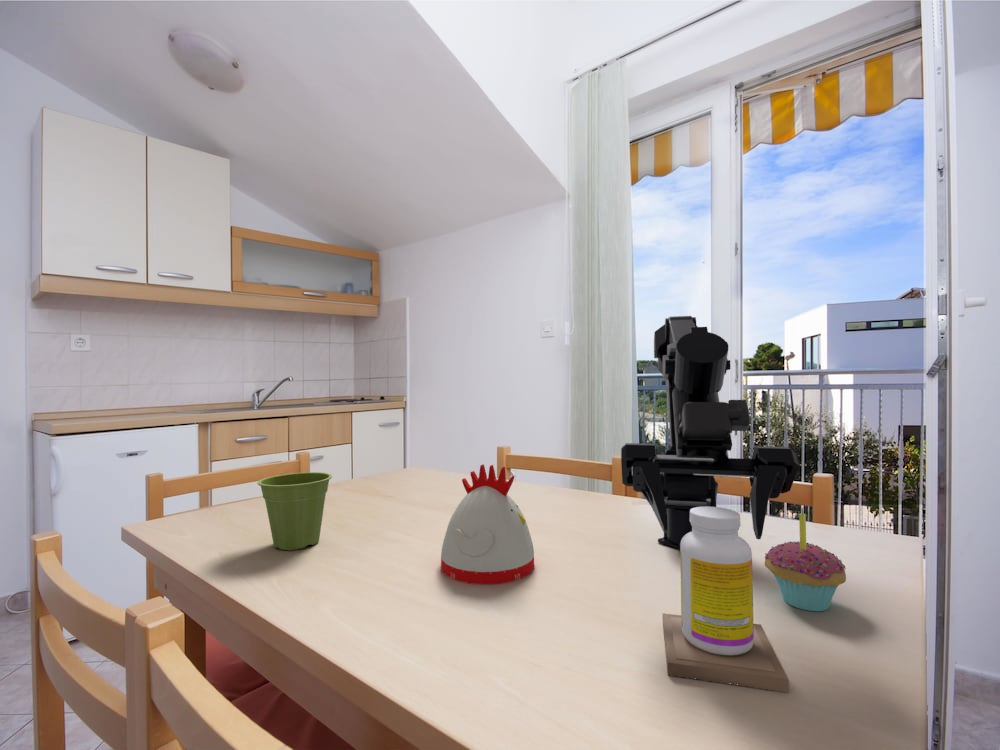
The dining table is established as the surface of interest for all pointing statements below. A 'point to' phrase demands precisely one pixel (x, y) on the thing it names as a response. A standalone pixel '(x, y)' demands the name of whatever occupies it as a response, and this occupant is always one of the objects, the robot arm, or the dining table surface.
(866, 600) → the dining table surface
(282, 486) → the plant pot
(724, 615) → the supplement bottle
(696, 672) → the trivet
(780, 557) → the cupcake
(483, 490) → the kitchen timer
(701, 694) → the dining table surface
